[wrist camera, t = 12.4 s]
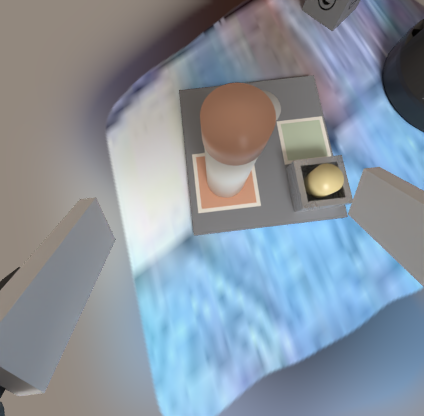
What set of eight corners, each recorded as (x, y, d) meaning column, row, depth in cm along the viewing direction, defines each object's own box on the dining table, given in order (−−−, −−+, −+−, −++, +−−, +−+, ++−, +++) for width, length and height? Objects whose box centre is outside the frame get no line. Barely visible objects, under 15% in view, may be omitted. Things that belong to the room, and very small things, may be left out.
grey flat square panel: (310, 80, 25) (313, 74, 25) (343, 217, 22) (348, 216, 21) (180, 95, 25) (179, 89, 24) (194, 235, 22) (193, 235, 21)
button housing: (329, 163, 23) (341, 155, 20) (339, 207, 22) (353, 202, 20) (285, 169, 23) (293, 160, 20) (294, 212, 22) (302, 208, 20)
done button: (328, 169, 21) (339, 161, 19) (334, 196, 21) (347, 190, 19) (301, 172, 21) (310, 165, 19) (306, 199, 21) (316, 194, 19)
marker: (242, 159, 23) (269, 78, 12) (248, 196, 22) (282, 146, 11) (204, 163, 23) (196, 86, 12) (208, 200, 22) (204, 155, 11)
